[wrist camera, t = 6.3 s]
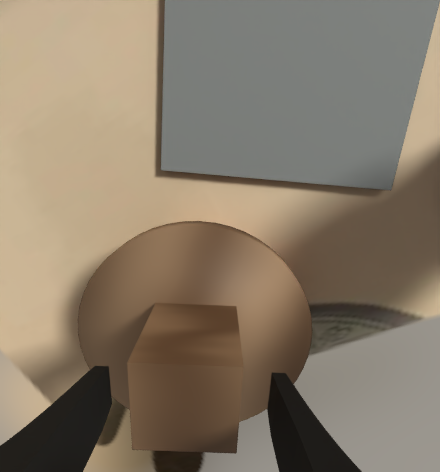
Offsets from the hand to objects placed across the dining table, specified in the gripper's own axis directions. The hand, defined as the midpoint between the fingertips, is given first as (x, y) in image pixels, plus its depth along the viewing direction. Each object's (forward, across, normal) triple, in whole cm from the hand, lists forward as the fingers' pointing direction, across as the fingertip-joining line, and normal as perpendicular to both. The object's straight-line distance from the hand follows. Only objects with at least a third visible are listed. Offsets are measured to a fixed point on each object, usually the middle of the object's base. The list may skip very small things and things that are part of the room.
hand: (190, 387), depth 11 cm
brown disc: (+3, 0, -1) cm, 3 cm away
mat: (+7, -5, -16) cm, 18 cm away
